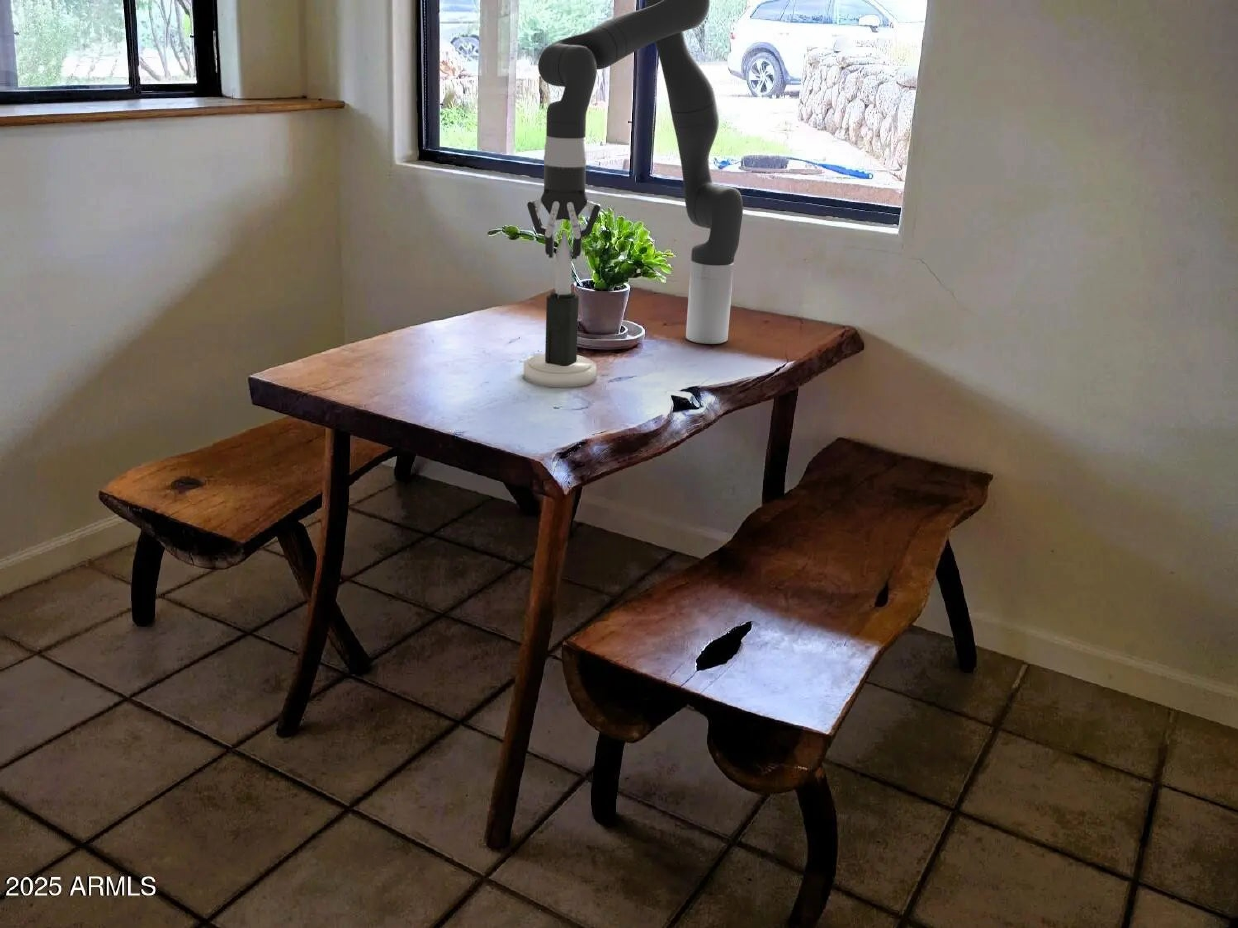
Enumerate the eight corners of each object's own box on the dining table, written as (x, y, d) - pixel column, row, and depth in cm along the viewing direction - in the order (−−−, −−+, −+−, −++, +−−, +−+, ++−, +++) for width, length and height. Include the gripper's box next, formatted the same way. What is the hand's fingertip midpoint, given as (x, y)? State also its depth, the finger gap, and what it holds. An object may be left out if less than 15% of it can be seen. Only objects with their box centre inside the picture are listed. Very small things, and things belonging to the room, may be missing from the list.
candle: (578, 360, 217) (583, 230, 208) (566, 366, 213) (570, 234, 204) (555, 356, 219) (558, 227, 210) (542, 362, 215) (545, 231, 206)
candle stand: (528, 364, 224) (528, 349, 223) (598, 368, 223) (599, 353, 222) (518, 385, 211) (519, 370, 210) (593, 389, 210) (593, 374, 209)
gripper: (605, 162, 206) (602, 256, 212) (528, 158, 206) (527, 252, 212) (603, 167, 199) (599, 264, 205) (523, 163, 199) (522, 259, 205)
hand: (562, 257), depth 209 cm, fingers open, 4 cm apart
